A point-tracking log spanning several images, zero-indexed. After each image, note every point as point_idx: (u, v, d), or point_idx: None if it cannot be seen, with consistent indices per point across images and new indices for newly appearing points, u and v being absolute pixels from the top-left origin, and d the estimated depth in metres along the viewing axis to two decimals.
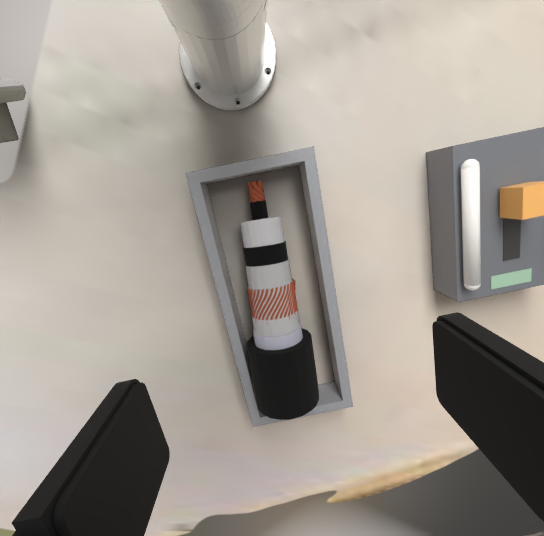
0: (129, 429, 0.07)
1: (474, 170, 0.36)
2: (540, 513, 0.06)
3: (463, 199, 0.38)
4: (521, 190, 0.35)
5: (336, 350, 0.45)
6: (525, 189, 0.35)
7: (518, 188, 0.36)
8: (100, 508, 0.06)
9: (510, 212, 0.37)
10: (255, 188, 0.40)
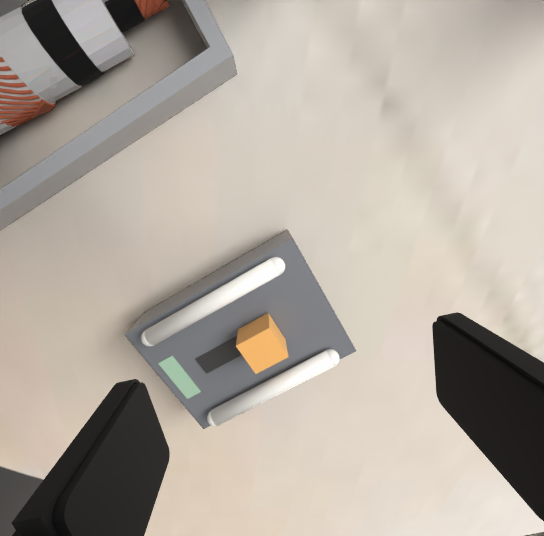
0: (129, 429, 0.07)
1: (271, 270, 0.29)
2: (540, 513, 0.06)
3: (238, 277, 0.30)
4: (266, 328, 0.29)
5: None
6: (268, 331, 0.29)
7: (268, 325, 0.30)
8: (100, 508, 0.06)
9: (243, 333, 0.31)
10: None
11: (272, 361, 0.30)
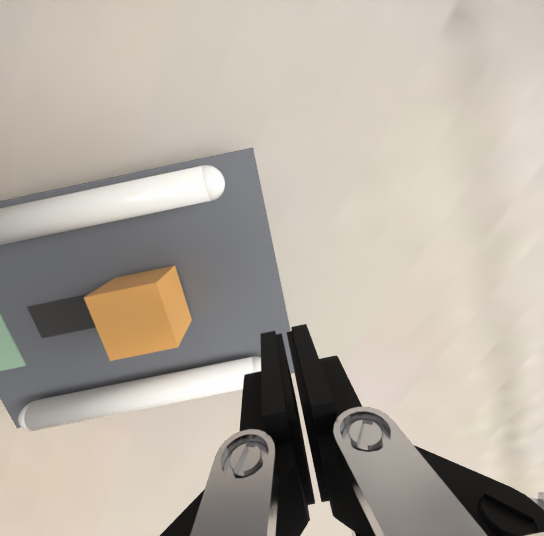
0: (288, 367, 0.09)
1: (196, 182, 0.16)
2: None
3: None
4: (151, 282, 0.16)
5: None
6: (152, 288, 0.15)
7: (158, 279, 0.16)
8: (297, 420, 0.07)
9: (114, 283, 0.17)
10: None
11: (146, 346, 0.16)
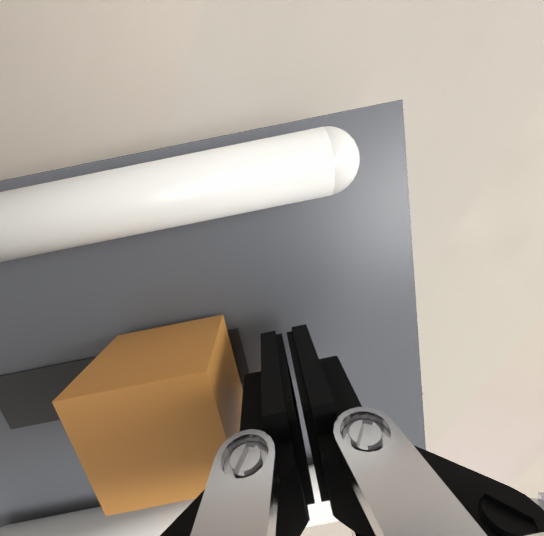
0: (288, 367, 0.09)
1: (316, 157, 0.08)
2: None
3: (191, 153, 0.08)
4: (194, 368, 0.07)
5: None
6: (196, 383, 0.07)
7: (206, 357, 0.08)
8: (297, 420, 0.07)
9: (116, 357, 0.09)
10: None
11: (179, 489, 0.08)
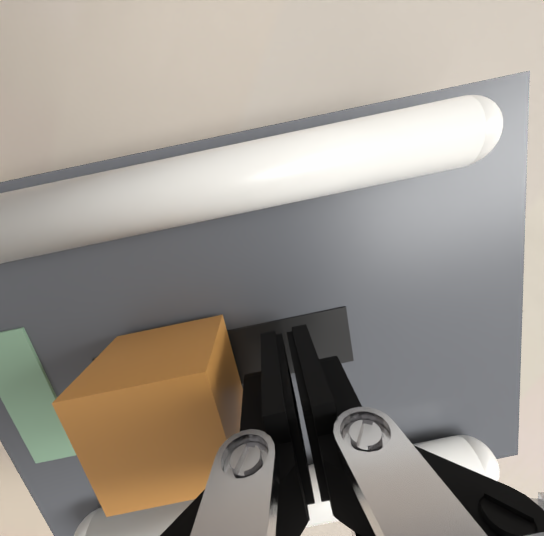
0: (288, 367, 0.09)
1: (467, 125, 0.08)
2: None
3: (330, 124, 0.08)
4: (194, 369, 0.07)
5: None
6: (196, 383, 0.07)
7: (206, 358, 0.08)
8: (297, 420, 0.07)
9: (116, 357, 0.09)
10: None
11: (179, 490, 0.08)
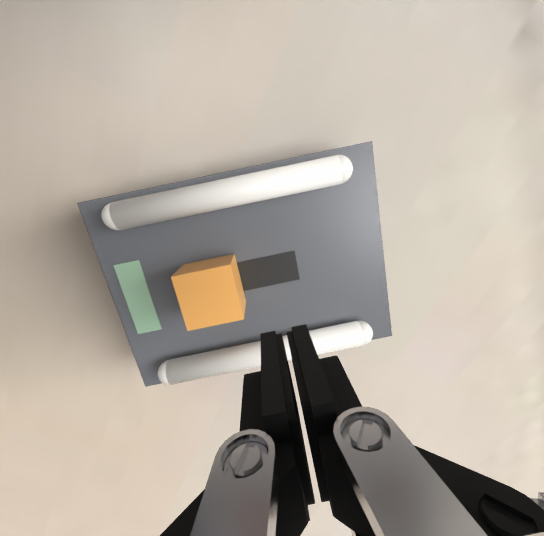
0: (288, 367, 0.09)
1: (335, 168, 0.19)
2: None
3: None
4: (225, 265, 0.19)
5: None
6: (226, 269, 0.19)
7: (229, 262, 0.19)
8: (297, 420, 0.07)
9: (189, 267, 0.20)
10: None
11: (218, 319, 0.20)
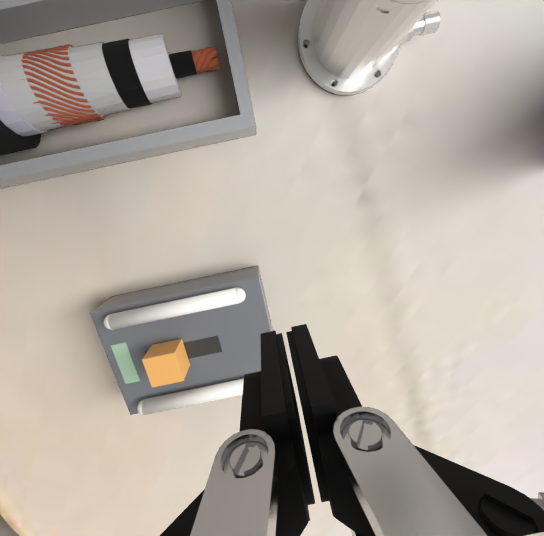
0: (288, 367, 0.09)
1: (233, 298, 0.35)
2: None
3: (205, 294, 0.36)
4: (172, 352, 0.35)
5: None
6: (172, 355, 0.34)
7: (175, 350, 0.35)
8: (297, 420, 0.07)
9: (153, 350, 0.36)
10: (208, 54, 0.32)
11: (169, 380, 0.35)
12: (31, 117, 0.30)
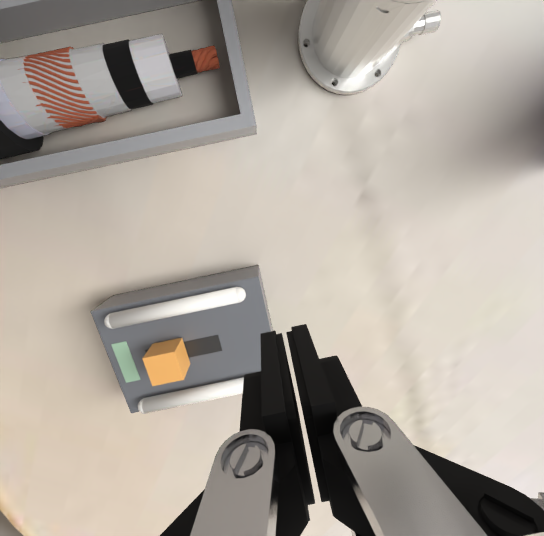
0: (288, 367, 0.09)
1: (233, 297, 0.35)
2: None
3: (205, 293, 0.36)
4: (172, 351, 0.35)
5: None
6: (172, 354, 0.35)
7: (175, 349, 0.35)
8: (297, 420, 0.07)
9: (154, 349, 0.36)
10: (208, 54, 0.32)
11: (169, 379, 0.35)
12: (34, 120, 0.31)
